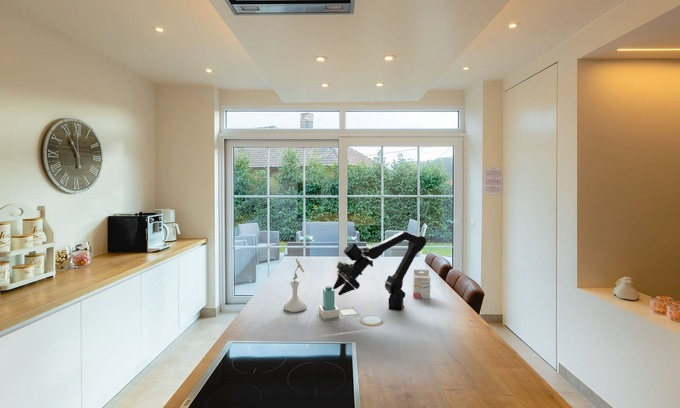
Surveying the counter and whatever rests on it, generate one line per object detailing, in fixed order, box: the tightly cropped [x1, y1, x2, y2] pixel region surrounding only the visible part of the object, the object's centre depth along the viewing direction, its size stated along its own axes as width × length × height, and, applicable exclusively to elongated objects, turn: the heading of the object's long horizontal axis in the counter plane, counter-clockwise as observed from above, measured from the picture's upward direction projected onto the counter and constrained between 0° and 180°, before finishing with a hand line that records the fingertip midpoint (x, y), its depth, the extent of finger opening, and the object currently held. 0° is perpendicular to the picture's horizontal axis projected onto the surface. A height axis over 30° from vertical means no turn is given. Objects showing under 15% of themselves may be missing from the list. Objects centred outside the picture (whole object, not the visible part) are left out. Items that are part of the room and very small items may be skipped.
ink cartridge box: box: [412, 269, 431, 300], centre depth 185 cm, size 9×5×15 cm, turn 84°
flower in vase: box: [283, 258, 308, 313], centre depth 169 cm, size 13×11×25 cm
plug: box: [322, 286, 336, 310], centre depth 160 cm, size 4×4×13 cm
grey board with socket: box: [315, 304, 362, 322], centre depth 162 cm, size 19×13×4 cm
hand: (336, 291), depth 161 cm, fingers open, 9 cm apart
